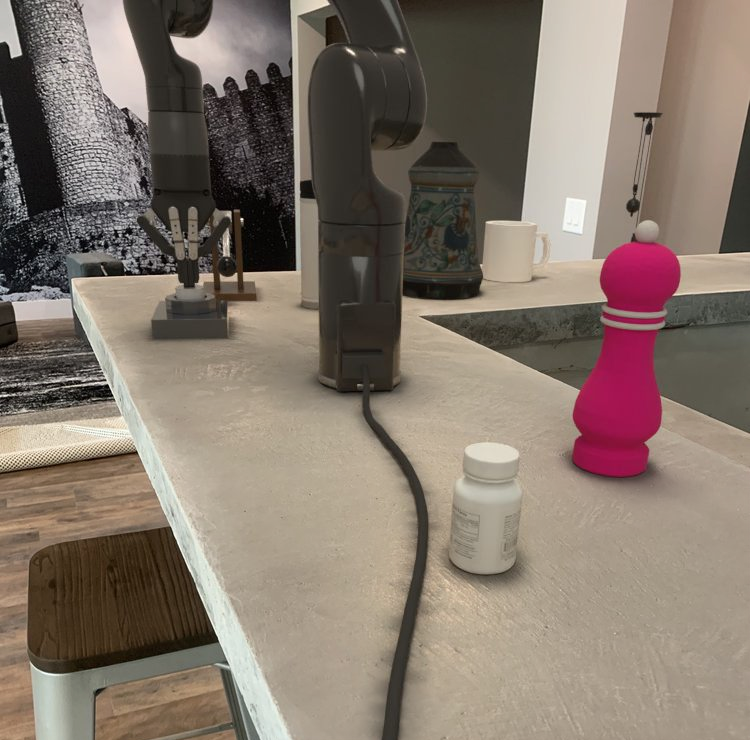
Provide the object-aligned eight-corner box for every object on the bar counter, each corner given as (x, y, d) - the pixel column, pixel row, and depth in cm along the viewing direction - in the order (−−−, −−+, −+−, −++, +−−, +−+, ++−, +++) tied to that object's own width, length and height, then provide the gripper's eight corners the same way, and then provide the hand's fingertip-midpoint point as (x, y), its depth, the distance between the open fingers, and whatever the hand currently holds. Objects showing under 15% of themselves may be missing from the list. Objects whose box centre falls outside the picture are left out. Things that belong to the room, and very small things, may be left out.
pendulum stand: (256, 301, 129) (252, 214, 123) (201, 301, 127) (195, 213, 122) (255, 288, 140) (251, 208, 134) (204, 288, 138) (198, 207, 132)
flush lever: (237, 281, 123) (236, 265, 121) (217, 281, 123) (216, 265, 120) (235, 224, 131) (234, 208, 128) (216, 224, 130) (214, 208, 128)
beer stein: (431, 303, 130) (439, 141, 120) (365, 285, 145) (367, 140, 134) (500, 294, 139) (514, 143, 129) (432, 279, 154) (439, 141, 143)
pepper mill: (588, 442, 71) (622, 214, 63) (664, 462, 67) (713, 221, 59) (551, 464, 66) (584, 219, 58) (632, 487, 62) (679, 227, 53)
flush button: (204, 302, 106) (203, 289, 106) (175, 302, 106) (174, 289, 105) (205, 296, 110) (204, 284, 109) (177, 296, 109) (176, 284, 109)
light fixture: (600, 267, 173) (622, 112, 160) (634, 267, 175) (659, 113, 161) (620, 274, 164) (646, 111, 151) (656, 274, 166) (684, 112, 153)
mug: (534, 273, 163) (539, 220, 158) (555, 281, 154) (561, 225, 150) (474, 274, 160) (478, 220, 156) (492, 282, 151) (497, 225, 147)
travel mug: (336, 311, 123) (336, 176, 114) (296, 308, 124) (294, 174, 115) (345, 304, 128) (346, 174, 120) (307, 301, 129) (305, 173, 121)
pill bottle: (507, 544, 53) (519, 439, 49) (521, 576, 49) (534, 465, 46) (444, 543, 53) (452, 438, 49) (452, 576, 49) (461, 464, 45)
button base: (228, 338, 105) (226, 305, 103) (153, 339, 103) (149, 306, 101) (228, 318, 116) (227, 288, 114) (161, 319, 115) (158, 288, 113)
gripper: (122, 150, 95) (137, 291, 103) (230, 153, 97) (237, 291, 105) (130, 149, 102) (143, 282, 109) (230, 151, 104) (237, 282, 112)
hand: (189, 286), depth 107 cm, fingers closed
